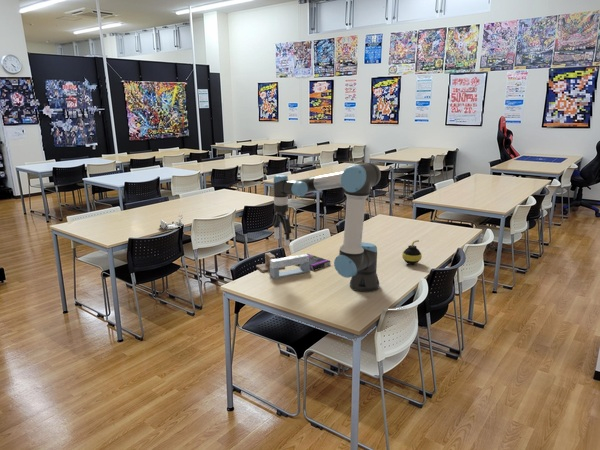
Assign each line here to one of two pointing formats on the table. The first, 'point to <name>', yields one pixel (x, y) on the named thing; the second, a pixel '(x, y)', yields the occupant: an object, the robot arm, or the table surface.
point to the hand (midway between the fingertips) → (281, 242)
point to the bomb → (412, 254)
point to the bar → (289, 261)
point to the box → (317, 262)
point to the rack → (290, 271)
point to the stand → (267, 263)
